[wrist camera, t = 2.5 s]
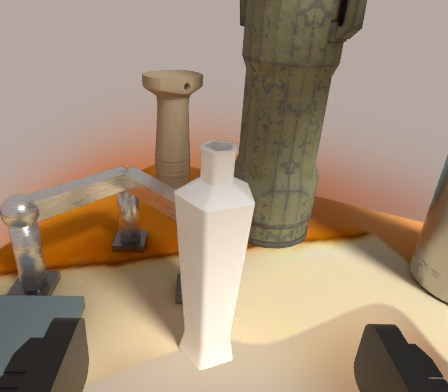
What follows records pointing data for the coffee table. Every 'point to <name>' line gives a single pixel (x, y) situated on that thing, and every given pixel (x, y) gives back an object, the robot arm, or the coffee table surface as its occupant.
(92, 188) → the bent rail
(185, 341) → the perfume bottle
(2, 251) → the coffee table surface
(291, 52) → the thermos
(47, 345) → the robot arm
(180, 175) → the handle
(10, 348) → the slate mat
